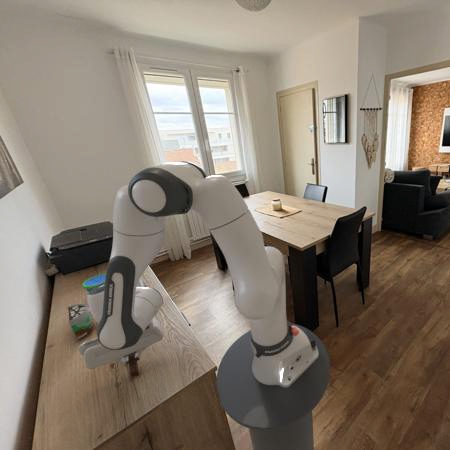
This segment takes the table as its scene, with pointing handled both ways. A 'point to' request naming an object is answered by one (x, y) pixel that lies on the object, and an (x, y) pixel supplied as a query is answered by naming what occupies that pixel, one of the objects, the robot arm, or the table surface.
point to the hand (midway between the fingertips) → (133, 361)
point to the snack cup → (94, 282)
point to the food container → (80, 320)
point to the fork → (133, 364)
